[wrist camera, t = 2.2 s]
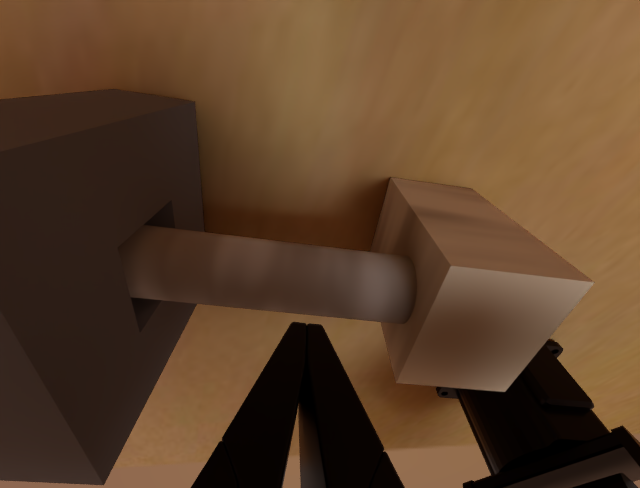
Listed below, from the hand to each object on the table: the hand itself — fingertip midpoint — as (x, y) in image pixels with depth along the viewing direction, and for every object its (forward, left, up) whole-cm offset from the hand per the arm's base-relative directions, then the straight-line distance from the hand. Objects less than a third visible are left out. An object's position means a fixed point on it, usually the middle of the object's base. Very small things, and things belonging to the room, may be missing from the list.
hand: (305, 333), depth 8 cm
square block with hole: (0, +7, -7) cm, 10 cm away
